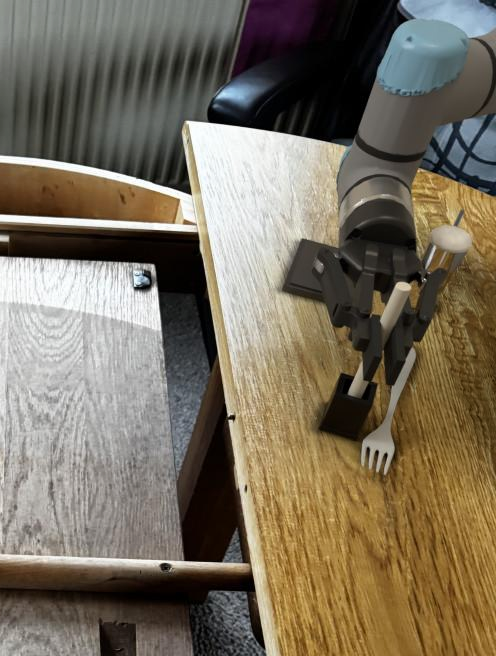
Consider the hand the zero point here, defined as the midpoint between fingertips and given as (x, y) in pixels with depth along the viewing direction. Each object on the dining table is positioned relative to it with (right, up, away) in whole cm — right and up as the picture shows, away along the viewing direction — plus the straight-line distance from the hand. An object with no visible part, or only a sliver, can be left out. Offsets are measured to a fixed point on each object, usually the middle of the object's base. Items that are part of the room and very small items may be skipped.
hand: (384, 370), depth 84 cm
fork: (+6, 0, +14) cm, 15 cm away
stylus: (0, -1, +10) cm, 10 cm away
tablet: (+4, +19, +28) cm, 34 cm away
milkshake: (+15, +16, +26) cm, 34 cm away
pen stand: (0, -2, +12) cm, 12 cm away
